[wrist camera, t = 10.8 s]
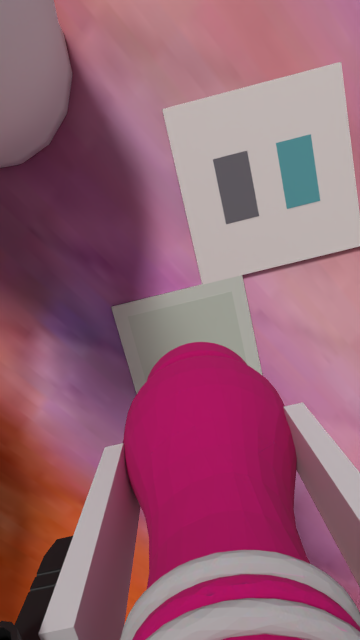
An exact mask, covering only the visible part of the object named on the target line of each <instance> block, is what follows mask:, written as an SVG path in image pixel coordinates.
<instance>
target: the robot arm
mask: <svg viewBox="0 0 360 640" xmlns="http://www.w3.org/2000/svg"><path fill="white" fill-rule="evenodd" d="M284 412H285V416H286V419H287V421H288V424H289V427H290V430H291V434H292V438H293V442H294V445H295V450H296V457H297V466H296V470H297V472H298V474H299V475H300V477H301V479H302V481H303V483H304V485H305V486H306V488H307V490H308V492H309V494H310V496H311V498H312V499H313V501H314V503H315V505H316V507H317V509H318V511H319V512H320V514H321V516H322V518H323V520H324V522H325V524H326V525H327V527H328V529H329V531H330V533H331V535H332V537H333V538H334V540H335V542H336V544H337V546H338V548H339V550H340V551H341V553H342V555H343V557H344V559H345V561H346V563H347V564H348V566H349V568H350V570H351V572H352V574H353V576H354V577H355V579H356V581H357V583H358V585H359V587H360V472H359V471H358V470H357V469H356V467H355V466H354V465H353V464H352V463H351V461H350V460H349V459H348V458H347V456H346V455H345V454H344V453H343V451H342V450H341V449H340V448H339V447H338V445H337V444H336V443H335V442H334V440H333V439H332V438H331V437H330V435H329V434H328V433H327V432H326V431H325V429H324V428H323V427H322V426H321V424H320V423H319V422H318V421H317V419H316V418H315V417H314V416H313V415H312V413H311V412H310V411H309V410H308V408H307V407H306V406H305V405H304V403H298V404H294V405H289V406H285V407H284ZM139 513H140V504H139V502H138V500H137V498H136V496H135V494H134V491H133V489H132V487H131V484H130V481H129V477H128V474H127V468H126V460H125V447H124V444H123V443H122V444H117V445H113V446H108V447H105V448H104V451H103V454H102V457H101V460H100V462H99V465H98V468H97V471H96V474H95V476H94V479H93V482H92V485H91V488H90V490H89V493H88V496H87V499H86V502H85V505H84V507H83V510H82V513H81V516H80V519H79V521H78V524H77V527H76V530H75V533H74V535H73V536H71V537H66V538H61V539H57V540H56V541H55V543H54V544H53V545H52V547H51V548H50V549H49V550H48V552H47V553H46V554H45V556H44V558H43V560H42V562H41V565H40V567H39V569H38V572H37V577H35V579H34V581H33V583H32V586H31V588H30V592H29V593H28V595H27V597H26V600H25V602H24V604H23V607H22V609H21V611H20V614H19V616H18V618H17V621H16V623H15V625H13V623H12V622H5V621H1V622H0V640H120V638H121V634H122V631H123V627H124V622H125V615H126V608H127V600H128V593H129V586H130V579H131V571H132V564H133V557H134V550H135V542H136V535H137V528H138V520H139Z"/></svg>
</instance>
